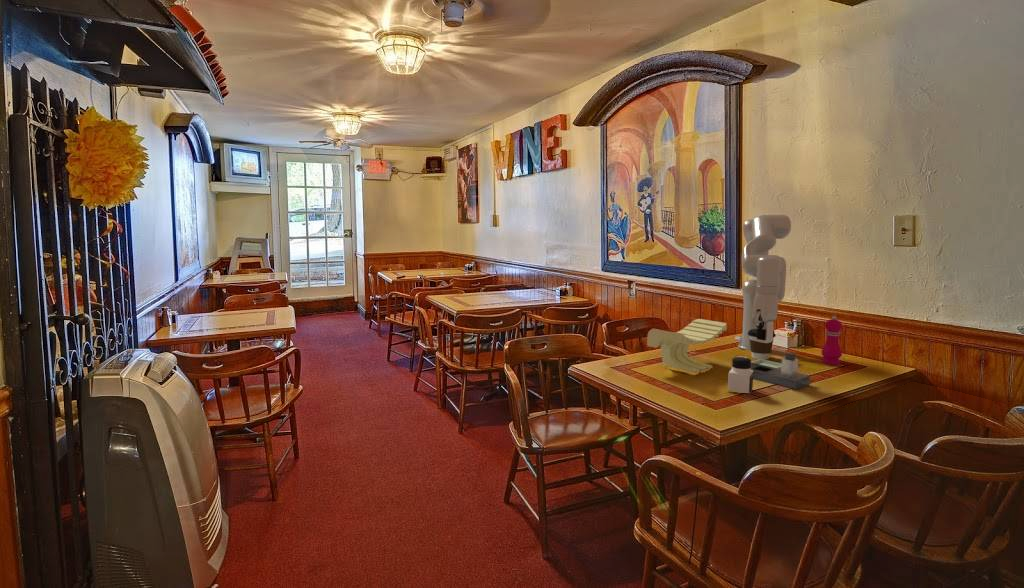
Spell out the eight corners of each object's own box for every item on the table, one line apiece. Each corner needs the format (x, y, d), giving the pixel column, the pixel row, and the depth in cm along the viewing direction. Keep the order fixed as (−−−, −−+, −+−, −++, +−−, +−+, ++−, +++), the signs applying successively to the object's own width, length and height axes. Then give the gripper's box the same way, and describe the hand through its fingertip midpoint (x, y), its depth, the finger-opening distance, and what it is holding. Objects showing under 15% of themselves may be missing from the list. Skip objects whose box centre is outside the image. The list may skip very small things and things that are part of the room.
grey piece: (733, 375, 212) (734, 346, 210) (747, 370, 217) (748, 342, 216) (795, 390, 192) (797, 358, 191) (809, 384, 198) (811, 354, 197)
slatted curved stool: (691, 358, 237) (692, 317, 234) (725, 365, 224) (726, 323, 222) (646, 370, 219) (647, 327, 216) (680, 380, 206) (681, 334, 204)
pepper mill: (835, 361, 228) (839, 314, 225) (844, 366, 221) (848, 317, 218) (817, 361, 229) (820, 314, 226) (825, 365, 222) (829, 317, 219)
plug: (756, 341, 205) (757, 315, 204) (762, 339, 208) (763, 314, 206) (766, 343, 202) (768, 316, 201) (772, 341, 205) (773, 315, 203)
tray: (744, 367, 221) (744, 363, 221) (759, 363, 227) (759, 358, 227) (771, 374, 212) (771, 369, 212) (786, 368, 219) (786, 364, 218)
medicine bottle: (749, 395, 188) (751, 361, 187) (727, 392, 192) (728, 358, 190) (752, 389, 194) (754, 356, 193) (731, 386, 198) (732, 354, 196)
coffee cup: (743, 355, 240) (745, 328, 239) (770, 356, 238) (772, 329, 236) (749, 361, 230) (750, 333, 228) (777, 362, 228) (778, 334, 226)
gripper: (769, 287, 210) (766, 334, 213) (745, 291, 200) (742, 340, 203) (788, 289, 204) (785, 337, 207) (764, 293, 194) (762, 343, 197)
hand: (764, 338), depth 205 cm, fingers closed on plug, 4 cm apart
